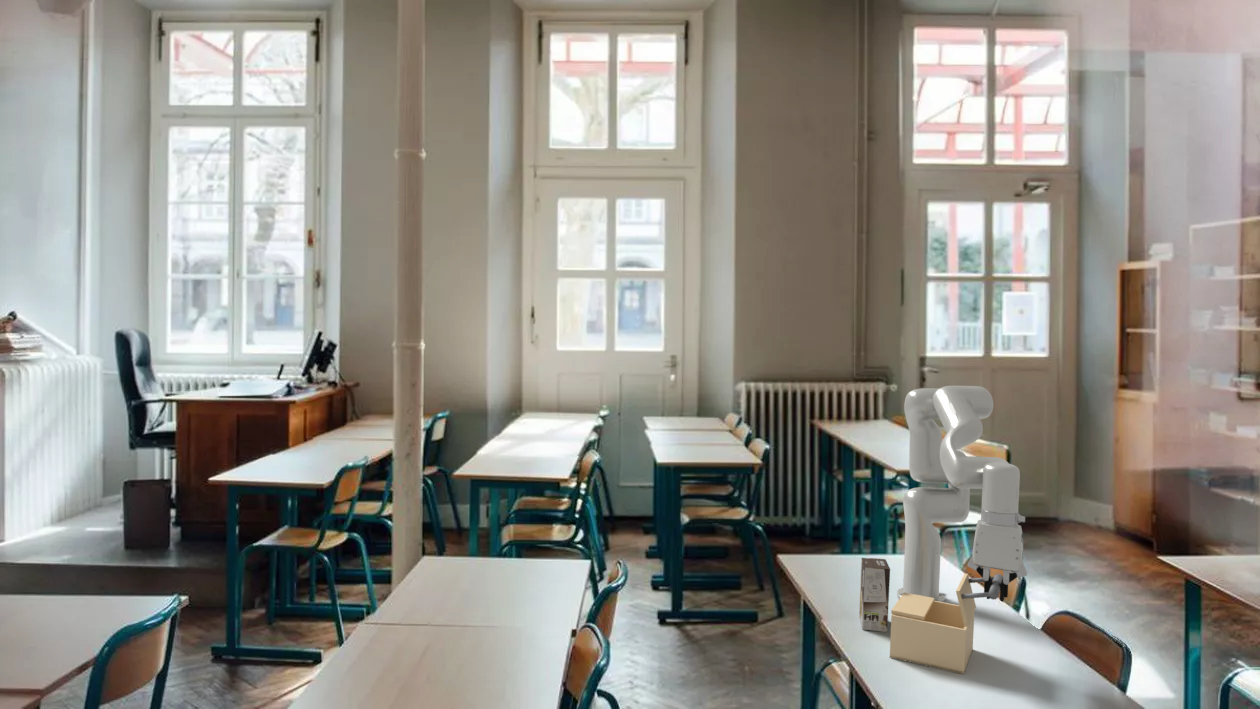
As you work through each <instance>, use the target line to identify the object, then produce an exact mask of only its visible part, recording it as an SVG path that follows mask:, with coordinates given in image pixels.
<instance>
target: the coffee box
mask: <svg viewBox="0 0 1260 709" xmlns="http://www.w3.org/2000/svg"><path fill="white" fill-rule="evenodd" d="M860 561H861V562H860V587H859V590H860V592H859V617H858V618H859V620H860V625H861V626H860V627H861V629H862V630H867V631H874V632H885V633H887V632H888V623H889V622H888V621H889V600H890V598H889V597H890V580H891V568H890V566H889V564H888V561H887V560H886V558H874V557H873V558H872V557H871V558H869V557H861V560H860Z"/></svg>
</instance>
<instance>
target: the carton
mask: <svg viewBox="0 0 1260 709" xmlns="http://www.w3.org/2000/svg"><path fill="white" fill-rule="evenodd" d="M890 613H891V618H890V619H891V620H890V641H889V644H890V645H889V658H890V657H892V658H891V659H894V658H896V659H895V660H898V659H900V660H899V661H902V660H906V661H905V662H907V661H911V662H914V663H913V664H916V663H918V664H917V665H920V664H922V665H921V666H924V665H927V666H926V667H929V666H931V667H930V668H933V667H934V669H937V668H938V670H942V669H943V670H942V671H947V672H950V671H951V673H956V674H959V675H965V673H966V670H967V667H968V664H969V661H970V658H971V655H972V652H973V649H974V630H975V628H974V627H975V626H974V625H975V613H974V614H973V616H972V619H971V621H970V624H969V627H964V623H963V618H962V614H961V610H960V606H959V604H954V603H949V602H945V601H944V602H939V601H934V598H931V597H926V596H921V595H915V594H910V593H905V592H904V593H903V594H902V596H901V597H900V598H898V600H897V601H896V603H895V605H894V606H893V607H892V609H891V612H890ZM911 662H910V663H911Z"/></svg>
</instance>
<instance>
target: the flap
mask: <svg viewBox="0 0 1260 709" xmlns="http://www.w3.org/2000/svg"><path fill="white" fill-rule="evenodd" d="M991 579H992V584H991V587H990V590H989V592H985V593H984V592H973V589H972V585H971V584H975V583H984V580H983V578H982V577H974V578H972V577H971V578H970V576H969V573H964V574H963V576H962V578H961V581H960V582H959V584H958V586H957V588H956V591H955V592H956V596H957V601H958V605H959V606H960V610H961V614H962V618H963V623H964V627H969V624H970V621H971V619H972V616H973V614H974V615H975V611H976V609H977V606H976V600H975V599H976V598H987V597H989V598H990V599H991V600H994V601H995V600H997V599H998V598H999V596H1000V585H1001V582H1002V579H1003V575H1002V574H1001V573H996V574H995V575H994V576H991Z"/></svg>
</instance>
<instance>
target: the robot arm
mask: <svg viewBox="0 0 1260 709" xmlns="http://www.w3.org/2000/svg"><path fill="white" fill-rule="evenodd" d="M904 399H905V400H904V405H903V406H904V408H903V409H904V410H903V411H904V416H905V420H906V423H907V427H908V431H909V449H908V450H909V454H908V455H909V459H908V460H909V462H908V464H909V466H908V467H909V475H910V478H911V479H912V480H913V481H915V482H918V483H926V484H928V483H930V484H947V486H948V487H928V486H926V487H924V486H921V487H920V486H919V487H913V488H910V489H907V491H906V492H905V493H904V495H903V498H902V500H903V501H902V504H903V513H904V523H905V524H904V525H905V528H904V530H905V531H904V532H905V534H904V535H905V536H904V537H905V538H904V560H903V584H902V587H901V588H899V589H898V590H896V595H897V597H898V599H900V597H901V596H902V594H903V593H904V592H905V593H910V594H915V595H921V596H926V597H931V598H934V601H939V602H944V603H945V599H946V598H945V596H944V595H943V594H942V593H940V577H941V576H940V575H941V574H940V572H941V553H942V552H941V550H942V538H941V535H940V533H939V532H938V530H937V529H936V528H935V526H934V525H933V524H934V523H963V522H965V521H966V520H967V519H968V517H969V513H970V503H971V502H970V500H971V499H970V498H971V497H970V495H971V492H970V491H971V490H981V510H980V511H981V512H980V519H979V520H977V523H976V527H975V533H974V540H973V548H972V549H973V550H972V555H971V557H970V559H969V561H968V562H967V563H966V564H967V567H968V568H970V569H971V570H973V571H975V572H977V574H978V575H979V576H980V578H983V580H984V582H983V583H984V584H983V585H984V586H983V593H985V592H989V590H990V587H991V584H992V582H993V581H992V579H991V577H992V576H991V569H994V570H998V571H999V570H1001V571H1003V575H1002V576H1003V579H1002V582H1001V585H1000V592H999V601H1000V602H1002V603H1003V602H1004V601H1005V598H1008V597H1009V584H1010V583H1011V582H1012V581H1014V580H1016V579H1018V578H1023V577H1027V576H1028V570H1027V568H1026V566H1025V563H1024V537H1023V529H1022V525H1019V524H1020V523H1025V522H1026V516H1023V515H1021V514H1020V513H1019V500H1020V482H1021V480H1020V478H1021V475H1020V474H1021V472H1020V468H1019V467H1018V466H1017V465H1014V464H1011V463H1009V462H1008V461H1007V460H1006V459H1004V458H1001V457H998V456H997V457H994V456H970V455H969V456H968V455H966V454H965V452H963V451H961V450H960V449H962V448H964V447H967V446H969V445H971V444H974V443H975V442H976V441H978V440H979V439H980V438H981V436H982V434H983V432H984V428H983V423H982V421H981V420H984V419H987V418H988V417H990V416H991V415H992V413H993V409H994V399H993V396H992V394H991V393H990V392H989V391H988V389H987V388H985V387H983V386H981V385H979V386H978V385H945V386H942V387H939V388H932V387H930V388H927V387H925V388H924V387H922V388H916V389H912V390H911V391H909V392H908V393H907V394H906V396H905V397H904ZM935 420H940V422H941V424H942V426H943V429H944V430H945V432H946V434H945V435H944V437H943V435H942V430H941V428H940V427H939V425H938V424H937V423H936V422H935ZM990 599H991V598H989V597H986V600H990Z"/></svg>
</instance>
